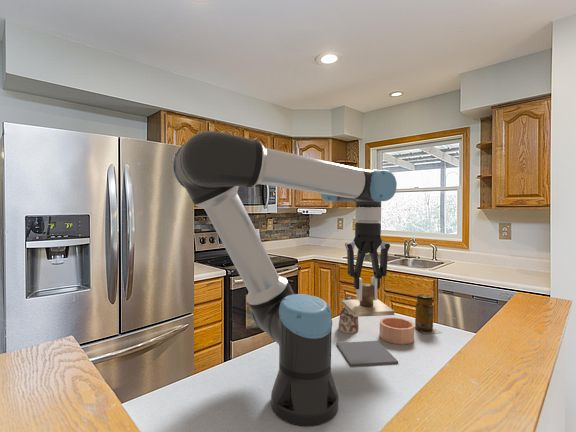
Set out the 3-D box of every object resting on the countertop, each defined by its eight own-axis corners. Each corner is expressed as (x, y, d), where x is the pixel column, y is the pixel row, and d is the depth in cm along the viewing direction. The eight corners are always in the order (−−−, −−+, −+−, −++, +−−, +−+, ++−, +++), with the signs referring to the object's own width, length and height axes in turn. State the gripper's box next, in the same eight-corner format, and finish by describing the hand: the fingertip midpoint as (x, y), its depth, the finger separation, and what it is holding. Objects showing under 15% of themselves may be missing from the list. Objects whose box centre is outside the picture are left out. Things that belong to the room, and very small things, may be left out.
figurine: (338, 332, 114) (338, 298, 113) (338, 325, 121) (338, 293, 120) (359, 333, 113) (359, 299, 112) (357, 326, 120) (358, 294, 119)
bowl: (388, 345, 104) (388, 330, 103) (374, 331, 114) (374, 318, 114) (420, 343, 105) (420, 328, 105) (403, 330, 116) (404, 316, 116)
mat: (350, 366, 90) (350, 364, 90) (336, 344, 104) (336, 342, 104) (398, 363, 92) (398, 361, 92) (377, 342, 106) (377, 340, 106)
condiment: (426, 324, 123) (427, 293, 122) (441, 332, 114) (442, 299, 114) (409, 325, 121) (410, 294, 121) (423, 334, 113) (424, 300, 112)
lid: (354, 316, 91) (354, 291, 90) (341, 303, 103) (341, 281, 102) (394, 315, 92) (394, 290, 92) (377, 302, 104) (377, 280, 104)
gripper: (389, 221, 101) (387, 295, 102) (336, 221, 99) (335, 296, 100) (400, 222, 94) (399, 302, 95) (344, 222, 92) (343, 304, 92)
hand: (366, 299), depth 97 cm, fingers closed on lid, 4 cm apart
